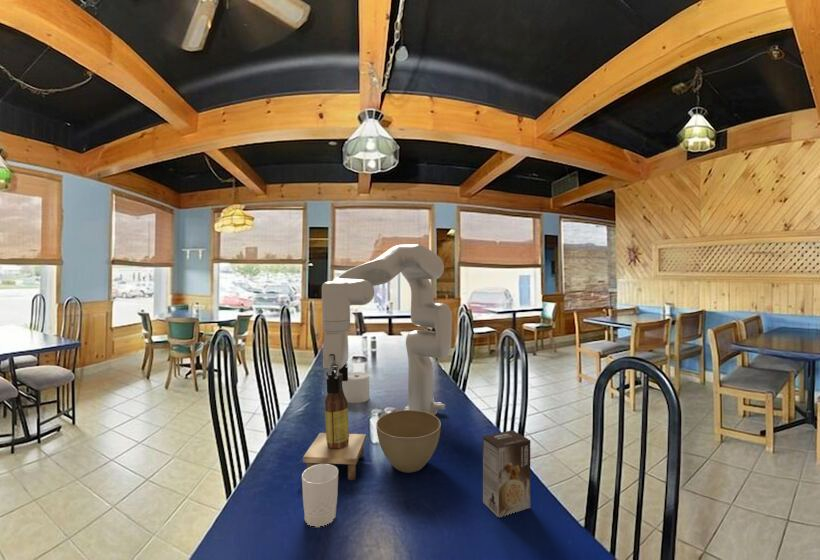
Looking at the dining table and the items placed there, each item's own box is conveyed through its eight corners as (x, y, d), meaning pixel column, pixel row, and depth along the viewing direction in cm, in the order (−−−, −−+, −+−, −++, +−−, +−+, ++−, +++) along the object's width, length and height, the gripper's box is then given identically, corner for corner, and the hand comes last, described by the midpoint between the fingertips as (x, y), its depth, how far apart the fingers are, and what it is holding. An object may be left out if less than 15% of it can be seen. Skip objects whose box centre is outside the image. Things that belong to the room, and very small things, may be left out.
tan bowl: (368, 456, 108) (368, 415, 108) (423, 444, 115) (423, 406, 115) (389, 490, 91) (389, 442, 91) (452, 474, 99) (452, 429, 98)
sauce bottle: (352, 440, 105) (352, 371, 104) (343, 451, 99) (343, 378, 98) (330, 438, 106) (330, 370, 106) (321, 448, 100) (320, 376, 99)
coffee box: (512, 493, 90) (513, 428, 90) (531, 508, 85) (532, 440, 84) (481, 502, 87) (482, 435, 86) (498, 519, 81) (499, 447, 80)
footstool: (366, 454, 109) (366, 434, 109) (356, 481, 95) (356, 458, 95) (319, 452, 110) (319, 432, 110) (303, 479, 96) (303, 456, 96)
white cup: (306, 506, 85) (305, 464, 85) (340, 504, 86) (340, 462, 85) (298, 530, 77) (298, 484, 77) (336, 528, 78) (336, 482, 78)
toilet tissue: (373, 400, 154) (373, 376, 153) (347, 406, 147) (347, 381, 147) (362, 393, 163) (362, 370, 162) (336, 398, 156) (336, 375, 156)
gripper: (331, 320, 110) (333, 376, 111) (312, 332, 93) (314, 398, 94) (356, 320, 110) (357, 376, 111) (342, 332, 93) (343, 398, 94)
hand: (338, 386), depth 102 cm, fingers open, 9 cm apart
